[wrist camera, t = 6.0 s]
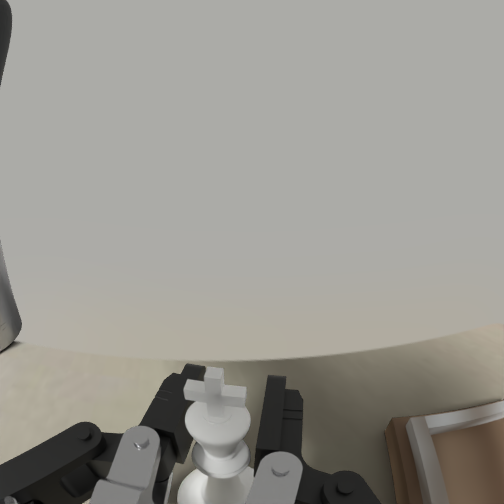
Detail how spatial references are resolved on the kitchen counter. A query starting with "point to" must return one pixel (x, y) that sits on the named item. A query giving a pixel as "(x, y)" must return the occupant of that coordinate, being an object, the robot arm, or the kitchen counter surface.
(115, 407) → the kitchen counter surface
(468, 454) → the walnut board
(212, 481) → the chess piece
